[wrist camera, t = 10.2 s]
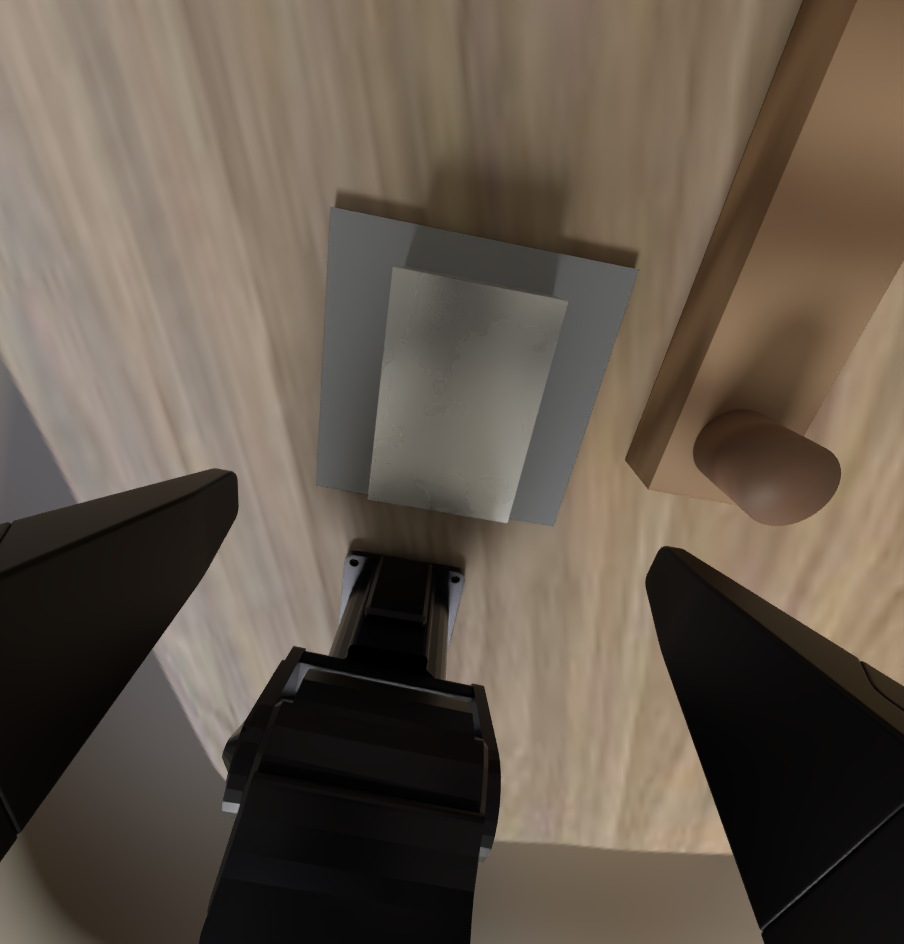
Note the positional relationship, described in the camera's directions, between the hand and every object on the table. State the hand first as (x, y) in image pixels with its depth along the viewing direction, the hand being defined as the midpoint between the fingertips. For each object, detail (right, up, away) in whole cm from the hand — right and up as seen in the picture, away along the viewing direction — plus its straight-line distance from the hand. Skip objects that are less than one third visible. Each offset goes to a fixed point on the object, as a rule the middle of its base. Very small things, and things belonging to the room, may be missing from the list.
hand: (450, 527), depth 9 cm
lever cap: (0, +5, +10) cm, 11 cm away
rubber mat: (0, +5, +11) cm, 12 cm away
